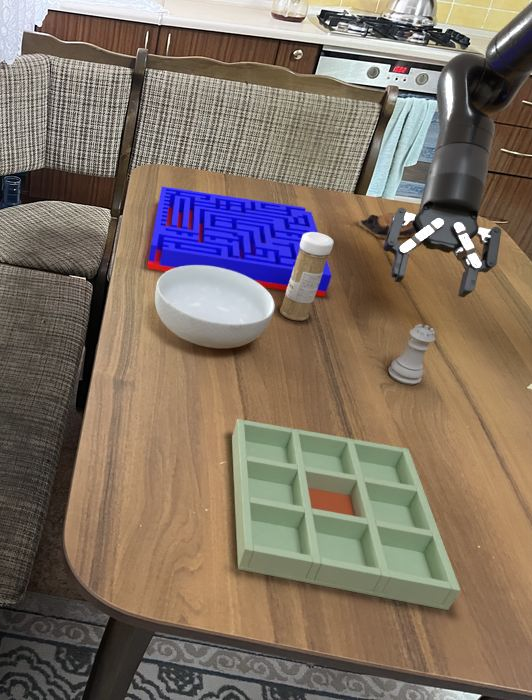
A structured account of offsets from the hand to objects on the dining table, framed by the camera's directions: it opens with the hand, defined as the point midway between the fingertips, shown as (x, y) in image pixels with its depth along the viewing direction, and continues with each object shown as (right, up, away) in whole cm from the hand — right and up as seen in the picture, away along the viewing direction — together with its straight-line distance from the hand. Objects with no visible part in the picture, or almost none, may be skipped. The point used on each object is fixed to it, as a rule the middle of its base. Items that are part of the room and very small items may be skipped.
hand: (430, 287), depth 95 cm
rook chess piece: (-3, -13, +1) cm, 13 cm away
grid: (-23, -26, -22) cm, 41 cm away
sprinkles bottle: (-15, -3, +13) cm, 20 cm away
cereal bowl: (-30, -6, +6) cm, 32 cm away
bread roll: (+16, +16, +46) cm, 52 cm away
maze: (-20, +11, +33) cm, 40 cm away
